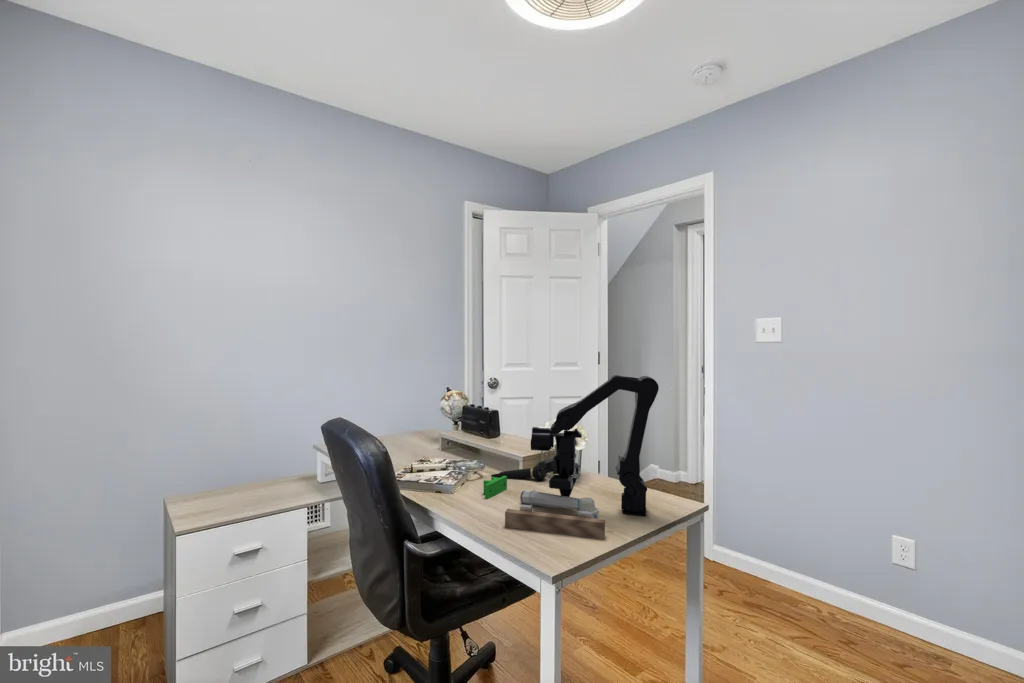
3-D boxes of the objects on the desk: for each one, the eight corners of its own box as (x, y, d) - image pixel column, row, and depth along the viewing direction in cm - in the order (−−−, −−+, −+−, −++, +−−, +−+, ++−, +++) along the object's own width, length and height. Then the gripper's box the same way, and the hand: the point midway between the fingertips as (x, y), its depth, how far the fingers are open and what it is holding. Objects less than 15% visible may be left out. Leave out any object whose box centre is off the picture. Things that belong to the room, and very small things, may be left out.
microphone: (491, 487, 172) (547, 483, 168) (488, 473, 170) (544, 469, 166) (494, 477, 177) (548, 474, 173) (491, 464, 175) (546, 460, 171)
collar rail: (605, 532, 125) (605, 513, 125) (604, 538, 122) (604, 519, 121) (509, 521, 132) (509, 503, 132) (504, 526, 128) (505, 508, 128)
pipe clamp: (497, 488, 161) (497, 474, 161) (506, 490, 160) (507, 476, 159) (477, 497, 152) (478, 482, 152) (487, 499, 150) (488, 484, 150)
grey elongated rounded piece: (528, 487, 150) (600, 493, 135) (530, 509, 149) (603, 518, 134) (518, 492, 146) (591, 498, 130) (520, 514, 145) (594, 523, 130)
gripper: (545, 442, 154) (544, 491, 154) (531, 457, 136) (531, 512, 137) (580, 445, 151) (579, 494, 151) (570, 460, 133) (570, 516, 133)
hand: (564, 503), depth 143 cm, fingers closed
